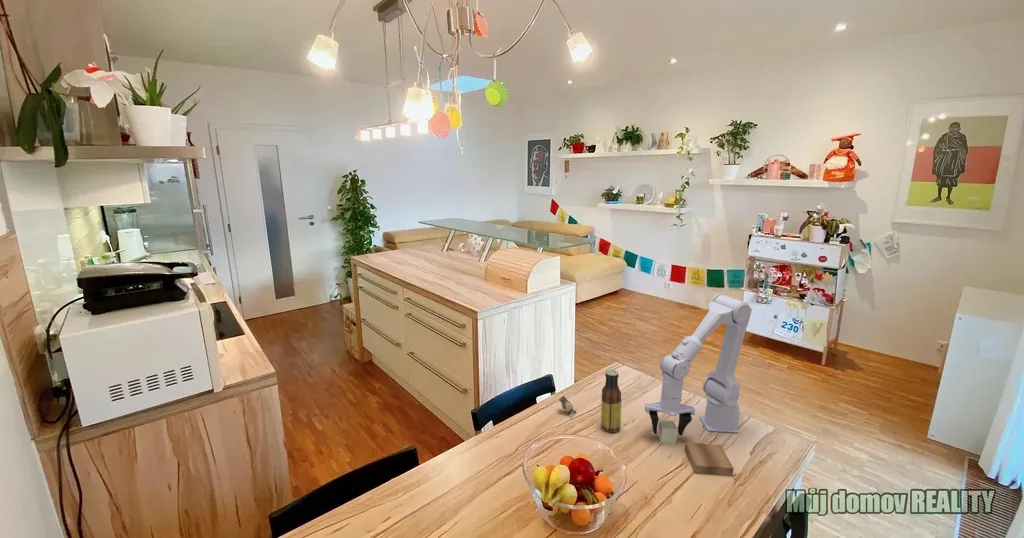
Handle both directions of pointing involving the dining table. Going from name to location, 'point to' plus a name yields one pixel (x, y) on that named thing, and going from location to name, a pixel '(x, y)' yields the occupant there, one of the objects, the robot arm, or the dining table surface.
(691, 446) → the walnut block
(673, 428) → the sage cube
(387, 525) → the dining table surface
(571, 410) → the bird figurine
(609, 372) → the sauce bottle
